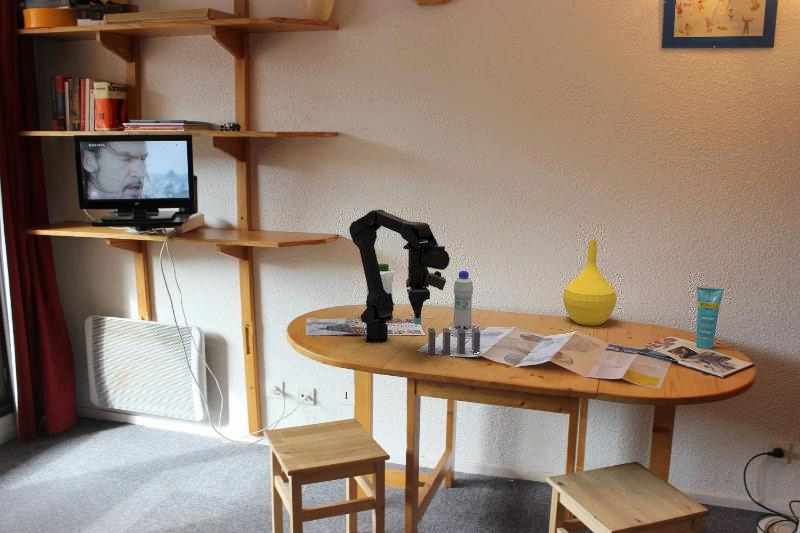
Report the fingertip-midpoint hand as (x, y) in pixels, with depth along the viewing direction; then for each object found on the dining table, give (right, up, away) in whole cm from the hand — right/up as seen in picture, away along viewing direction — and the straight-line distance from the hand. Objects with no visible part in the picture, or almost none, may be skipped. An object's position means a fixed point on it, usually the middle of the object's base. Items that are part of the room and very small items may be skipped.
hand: (417, 315), depth 205 cm
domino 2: (+4, -11, +2) cm, 12 cm away
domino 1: (0, -2, 0) cm, 2 cm away
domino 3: (+9, -11, +2) cm, 15 cm away
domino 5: (+18, -11, +3) cm, 21 cm away
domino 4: (+13, -11, +3) cm, 18 cm away
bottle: (+17, -6, +30) cm, 35 cm away
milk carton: (-13, -5, +39) cm, 41 cm away
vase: (+62, -5, +38) cm, 73 cm away
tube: (+91, -11, +9) cm, 92 cm away
